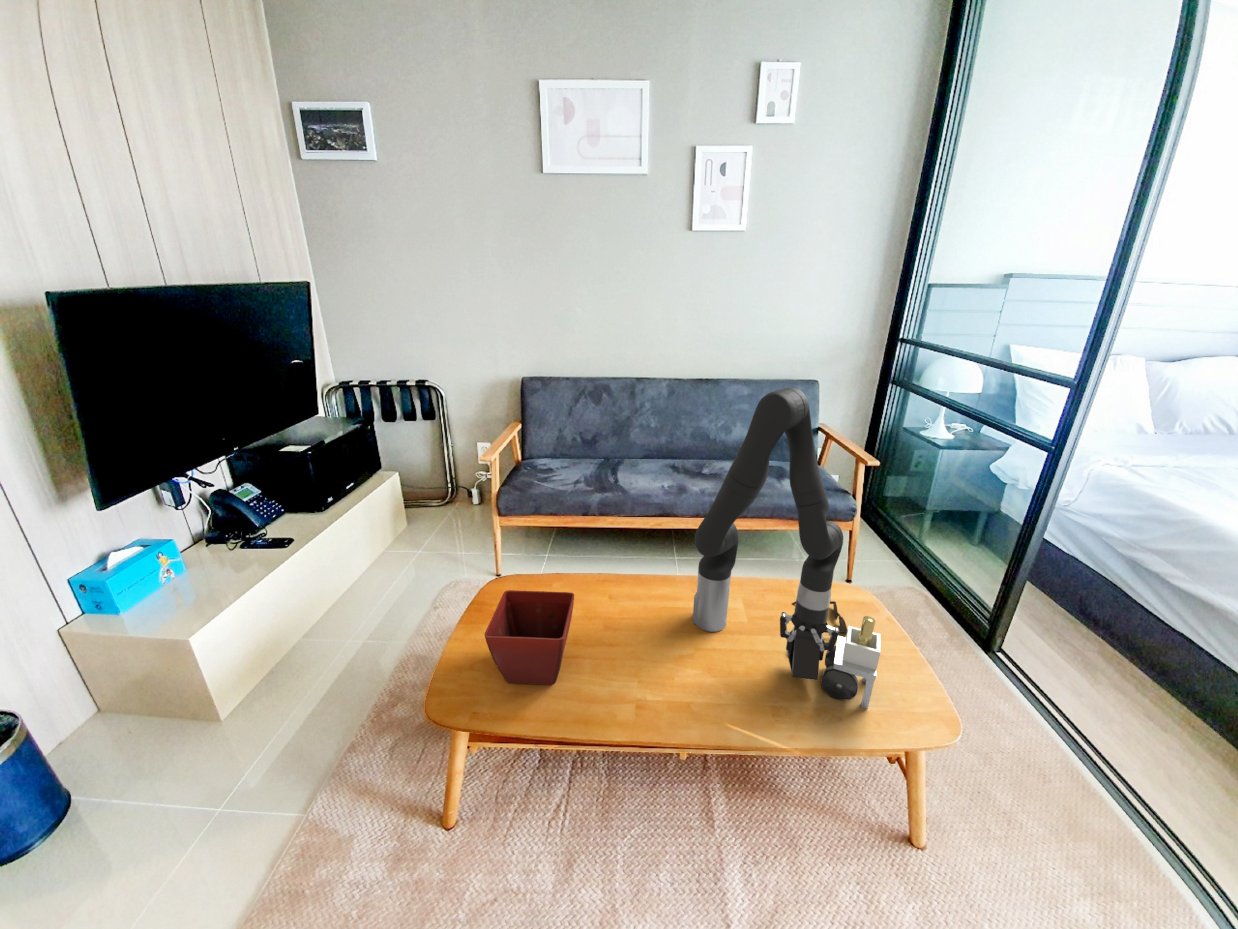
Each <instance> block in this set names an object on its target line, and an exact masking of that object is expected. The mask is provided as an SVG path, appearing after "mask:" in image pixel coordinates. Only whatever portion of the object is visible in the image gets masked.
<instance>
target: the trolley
mask: <svg viewBox="0 0 1238 929" xmlns="http://www.w3.org/2000/svg"><path fill="white" fill-rule="evenodd" d="M845 640H846V636H845V637H844V636H841V635H838V637H837V640H836V643H835V645H834V648H833V651H831V652H830V651H828V650H826V652H825V656H824V665H825V667H826V668H825V669H824V670H823V672H822V677H821V681H820V682H821V686H822V689H823V691H824V692H825V693H826V694H827V695H828V696H829V697H831V698H833V699H835V700H839V701H849V700H851V699H854V698H855V697H856V696H857V694H858V686H859V681H858V677H860V678H862V683H865V685H864V686H865V687H864V689H863V694H862V700H861V705H860V707H861V709H862V708H863V709H866V710H868V709H869V704H870V701H871V696H872V692H873V688H874V683H875V681H876V678H877V670H874V669H870V668H867V667H863V666H860V665H857V664H853V663H850V662H847V661H843V656H844V647H845Z"/></svg>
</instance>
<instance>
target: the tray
mask: <svg viewBox="0 0 1238 929" xmlns="http://www.w3.org/2000/svg"><path fill="white" fill-rule="evenodd" d="M860 630H861V627H860V628H859V627H855V626H851V625H848V626H847V634H846V635H845V638H846V640H845V647H844V656H843V661H847V662H850V663H853V664H857V665H860V666H863V667H867V668H870V669H874V670H876V671H877V668H878V664H879V661H880V657H881V647H882V646H881V644H882V643H881V639H882V635H881V633H877V632H874V631H873V633H872V637H871V641H870V645H869V647H866V646H863V645H859V644H857V642H858V638H859V634H860Z"/></svg>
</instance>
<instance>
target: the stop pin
mask: <svg viewBox="0 0 1238 929" xmlns="http://www.w3.org/2000/svg"><path fill="white" fill-rule="evenodd" d="M875 624H876V619H875V618H874V617H872V616H869V615H865V616H863V617H862V622H861V626H860V629H861V630H860V634H859V638H858V642H857V644H859V645H863V646H866V647H869V645H870V641H871V637H872V633H873V632H874V630H875Z"/></svg>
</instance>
